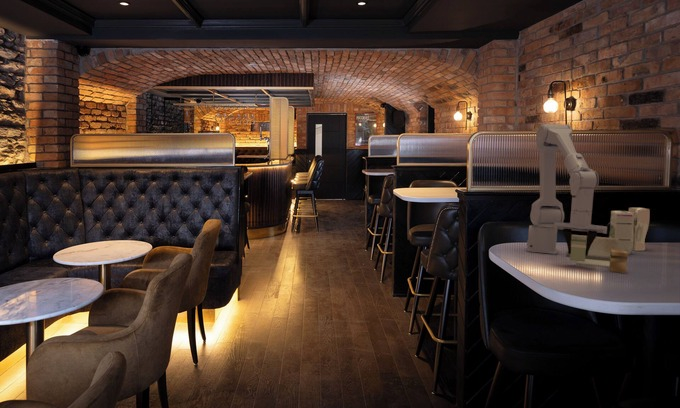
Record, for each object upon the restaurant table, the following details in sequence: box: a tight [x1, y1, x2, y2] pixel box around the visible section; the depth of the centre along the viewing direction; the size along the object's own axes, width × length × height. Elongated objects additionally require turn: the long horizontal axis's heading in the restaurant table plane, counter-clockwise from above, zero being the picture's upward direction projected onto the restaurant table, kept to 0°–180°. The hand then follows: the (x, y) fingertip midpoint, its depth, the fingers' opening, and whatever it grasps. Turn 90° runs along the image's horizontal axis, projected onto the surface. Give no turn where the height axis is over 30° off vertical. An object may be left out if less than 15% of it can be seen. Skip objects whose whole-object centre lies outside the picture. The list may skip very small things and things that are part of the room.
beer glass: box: [628, 207, 651, 252], centre depth 182 cm, size 7×7×15 cm
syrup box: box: [608, 210, 633, 255], centre depth 177 cm, size 6×6×14 cm
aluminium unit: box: [565, 234, 619, 261], centre depth 167 cm, size 16×5×7 cm, turn 66°
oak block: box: [608, 250, 629, 274], centre depth 150 cm, size 4×4×6 cm
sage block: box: [569, 239, 586, 262], centre depth 155 cm, size 4×4×6 cm
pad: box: [575, 259, 610, 268], centre depth 159 cm, size 10×7×1 cm
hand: (577, 254), depth 155 cm, fingers closed on sage block, 4 cm apart
